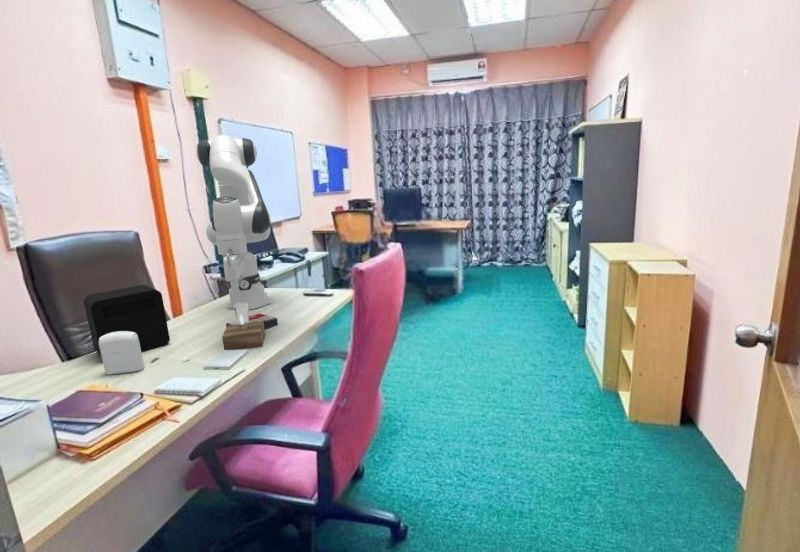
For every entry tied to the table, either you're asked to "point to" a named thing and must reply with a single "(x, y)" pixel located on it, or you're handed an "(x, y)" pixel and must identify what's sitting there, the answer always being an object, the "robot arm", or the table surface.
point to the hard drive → (226, 360)
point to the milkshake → (242, 315)
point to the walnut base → (244, 336)
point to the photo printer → (121, 352)
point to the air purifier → (128, 315)
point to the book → (268, 320)
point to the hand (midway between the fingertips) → (238, 288)
